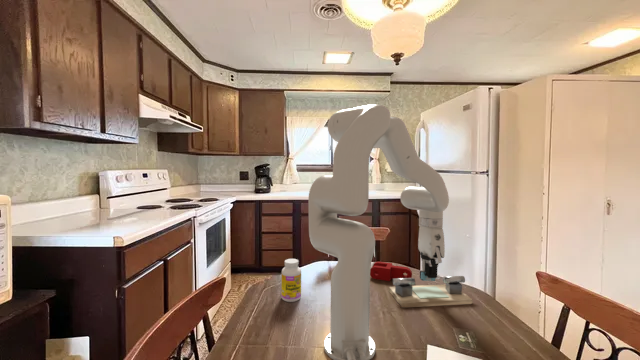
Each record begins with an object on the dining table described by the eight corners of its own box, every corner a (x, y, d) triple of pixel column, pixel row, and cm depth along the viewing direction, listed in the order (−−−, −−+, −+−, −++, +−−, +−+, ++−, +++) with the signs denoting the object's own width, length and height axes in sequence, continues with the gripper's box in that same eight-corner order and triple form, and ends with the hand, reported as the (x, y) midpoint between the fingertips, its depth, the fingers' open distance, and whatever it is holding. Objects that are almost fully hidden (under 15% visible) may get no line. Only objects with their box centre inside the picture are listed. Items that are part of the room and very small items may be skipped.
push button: (436, 277, 100) (437, 249, 99) (442, 283, 94) (443, 253, 94) (417, 276, 100) (418, 248, 100) (421, 282, 95) (422, 253, 94)
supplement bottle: (282, 303, 92) (282, 265, 92) (280, 294, 99) (280, 258, 98) (303, 301, 94) (303, 263, 93) (299, 292, 100) (299, 256, 100)
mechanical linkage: (369, 278, 114) (369, 266, 114) (372, 272, 121) (373, 260, 120) (411, 284, 108) (411, 271, 108) (412, 278, 115) (412, 265, 114)
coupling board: (472, 303, 93) (472, 298, 93) (402, 307, 90) (402, 301, 90) (451, 288, 105) (451, 283, 105) (388, 290, 102) (388, 286, 102)
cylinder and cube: (467, 294, 97) (467, 278, 96) (396, 297, 94) (396, 281, 94) (458, 288, 101) (459, 273, 101) (391, 291, 98) (391, 276, 98)
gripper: (455, 227, 89) (453, 285, 90) (429, 217, 105) (428, 266, 106) (432, 228, 88) (430, 286, 89) (409, 218, 104) (408, 267, 105)
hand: (429, 274), depth 97 cm, fingers closed on push button, 3 cm apart
